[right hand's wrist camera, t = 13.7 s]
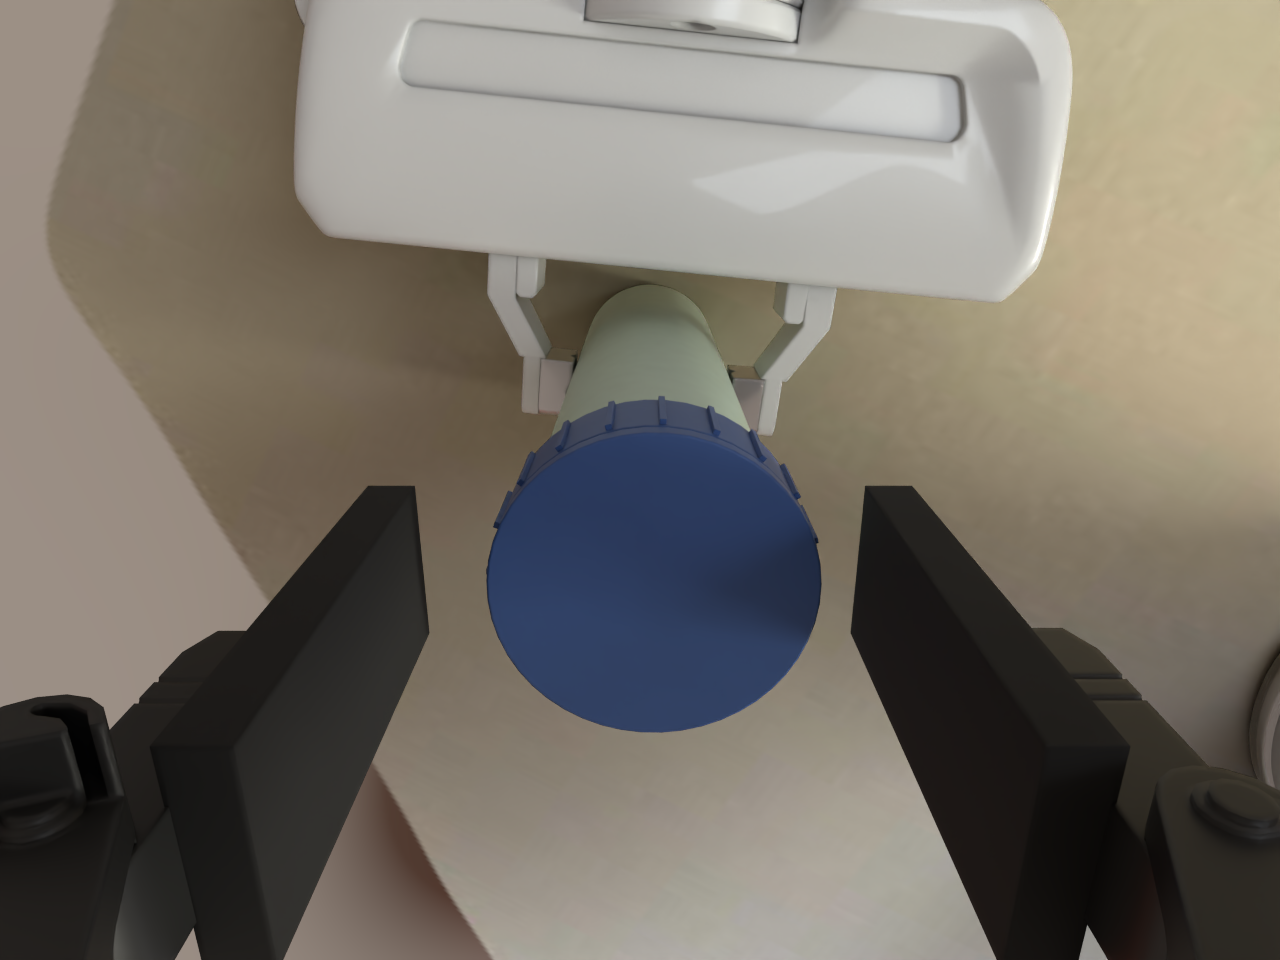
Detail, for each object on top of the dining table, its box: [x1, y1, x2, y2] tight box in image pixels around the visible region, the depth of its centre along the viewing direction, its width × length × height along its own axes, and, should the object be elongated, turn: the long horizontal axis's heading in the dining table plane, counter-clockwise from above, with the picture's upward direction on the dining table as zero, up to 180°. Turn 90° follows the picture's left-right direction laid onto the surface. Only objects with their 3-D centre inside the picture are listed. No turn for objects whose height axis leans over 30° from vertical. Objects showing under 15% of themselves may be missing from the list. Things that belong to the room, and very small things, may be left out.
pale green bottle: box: [551, 285, 750, 437], centre depth 23 cm, size 5×5×19 cm
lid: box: [486, 396, 821, 732], centre depth 15 cm, size 5×5×2 cm
